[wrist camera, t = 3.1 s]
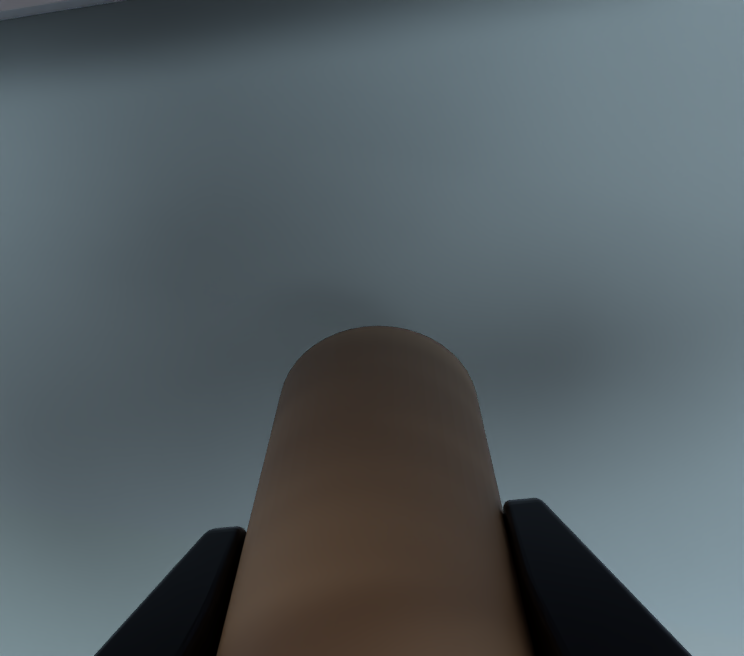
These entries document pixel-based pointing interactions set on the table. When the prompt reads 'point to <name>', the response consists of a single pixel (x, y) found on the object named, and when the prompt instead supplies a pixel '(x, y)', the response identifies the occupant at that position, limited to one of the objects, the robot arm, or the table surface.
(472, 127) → the table surface
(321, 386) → the walnut cylinder
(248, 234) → the table surface
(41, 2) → the grey square block
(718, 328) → the table surface
